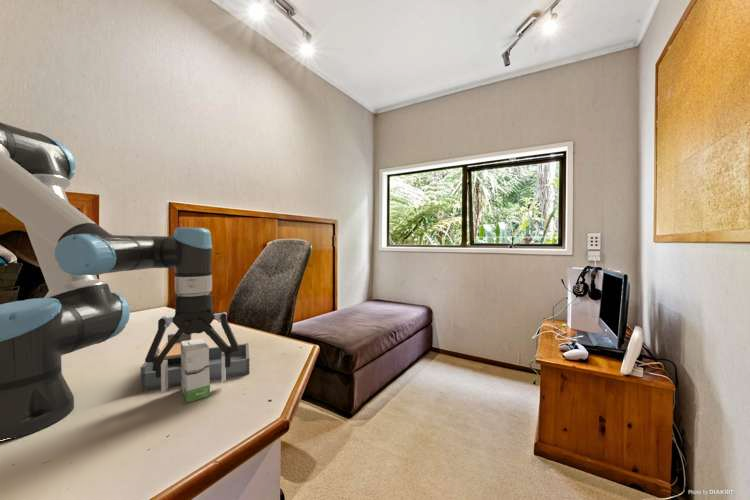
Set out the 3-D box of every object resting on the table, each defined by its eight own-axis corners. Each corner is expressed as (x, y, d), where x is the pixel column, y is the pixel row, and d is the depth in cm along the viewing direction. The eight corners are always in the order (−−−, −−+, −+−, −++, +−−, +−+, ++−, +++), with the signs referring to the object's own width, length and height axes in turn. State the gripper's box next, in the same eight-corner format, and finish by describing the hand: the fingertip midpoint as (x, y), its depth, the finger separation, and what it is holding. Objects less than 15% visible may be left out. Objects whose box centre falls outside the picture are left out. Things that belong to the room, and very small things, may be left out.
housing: (141, 390, 73) (140, 367, 73) (156, 368, 86) (155, 348, 86) (249, 373, 83) (249, 353, 82) (248, 355, 95) (248, 338, 95)
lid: (155, 360, 81) (155, 348, 81) (166, 344, 93) (166, 334, 93) (186, 356, 84) (186, 345, 84) (193, 341, 96) (193, 331, 96)
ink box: (210, 396, 71) (210, 345, 70) (185, 403, 67) (185, 350, 67) (203, 383, 77) (203, 336, 77) (180, 388, 74) (179, 340, 74)
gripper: (125, 300, 63) (127, 403, 64) (249, 292, 73) (249, 382, 73) (137, 294, 70) (138, 387, 71) (248, 288, 80) (249, 370, 80)
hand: (195, 385), depth 72 cm, fingers open, 11 cm apart
